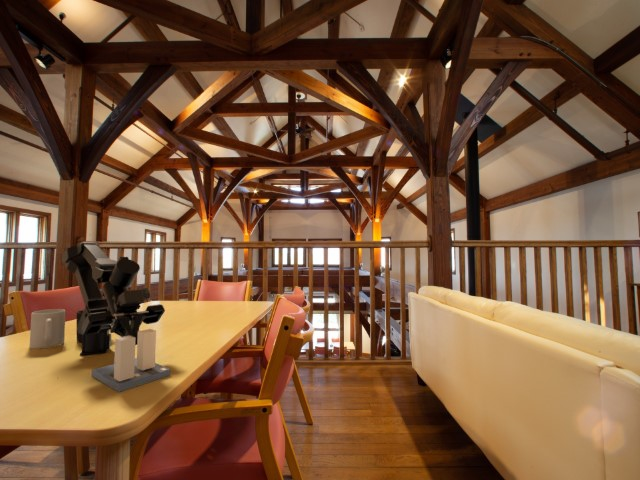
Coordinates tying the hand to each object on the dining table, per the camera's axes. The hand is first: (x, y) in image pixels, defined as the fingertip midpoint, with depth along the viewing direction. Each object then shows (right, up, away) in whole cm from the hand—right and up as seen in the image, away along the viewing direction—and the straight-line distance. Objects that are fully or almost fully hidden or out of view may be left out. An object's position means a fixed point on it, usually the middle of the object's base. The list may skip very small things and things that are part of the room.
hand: (136, 344), depth 79 cm
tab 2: (+4, -5, -3) cm, 7 cm away
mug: (-40, -7, +19) cm, 45 cm away
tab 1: (+3, -4, -10) cm, 11 cm away
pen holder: (-32, -8, +27) cm, 42 cm away
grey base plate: (+1, -7, -4) cm, 8 cm away
